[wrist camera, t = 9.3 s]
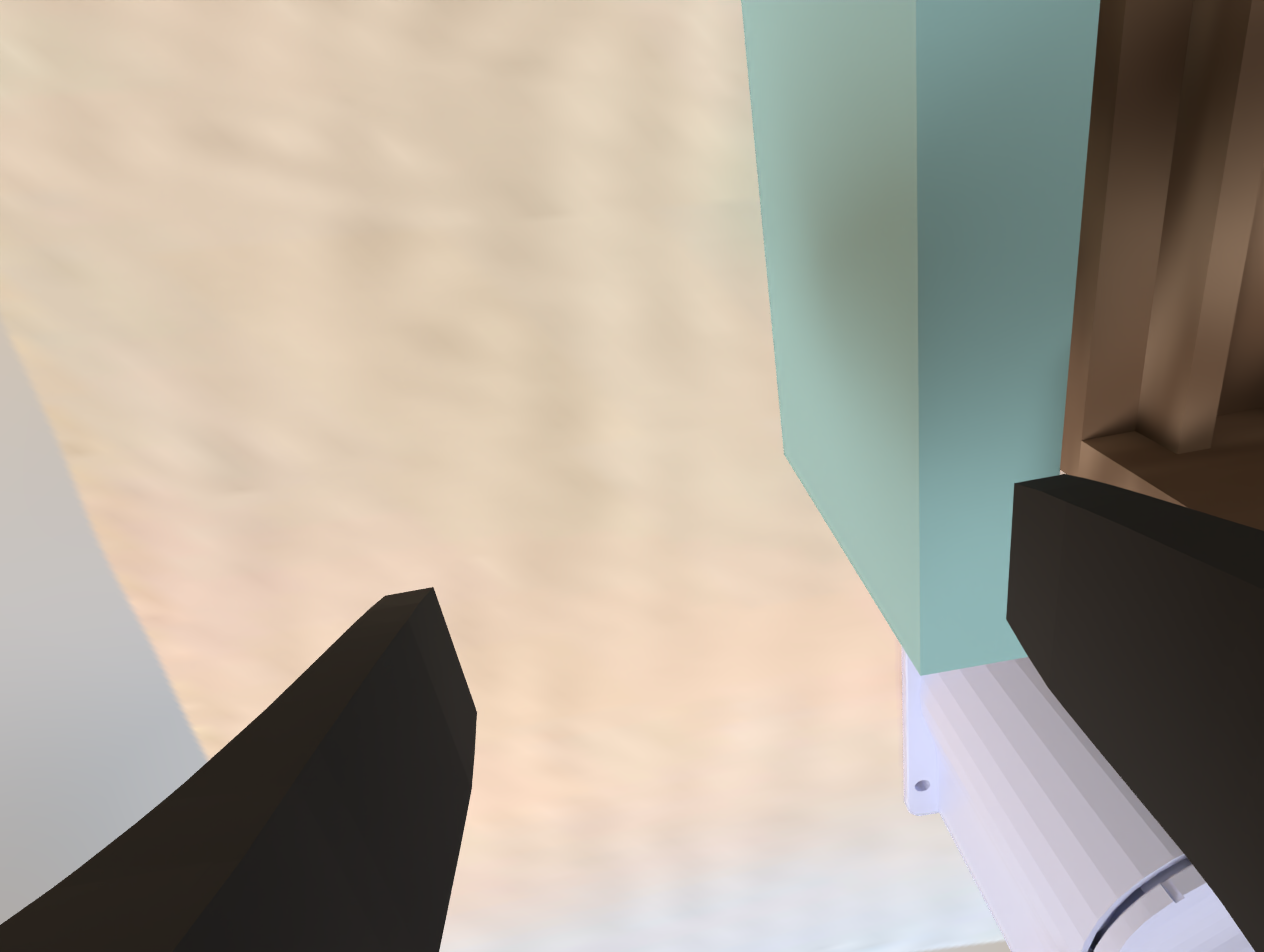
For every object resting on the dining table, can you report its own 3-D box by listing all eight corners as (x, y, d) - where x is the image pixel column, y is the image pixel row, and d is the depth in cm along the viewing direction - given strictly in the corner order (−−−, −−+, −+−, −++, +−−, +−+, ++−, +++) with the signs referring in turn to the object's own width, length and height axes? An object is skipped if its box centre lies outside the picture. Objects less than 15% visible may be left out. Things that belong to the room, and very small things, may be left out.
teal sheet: (856, 439, 20) (1044, 654, 12) (783, 453, 20) (920, 675, 12) (830, -102, 15) (1133, -386, 7) (732, -82, 15) (913, -339, 7)
